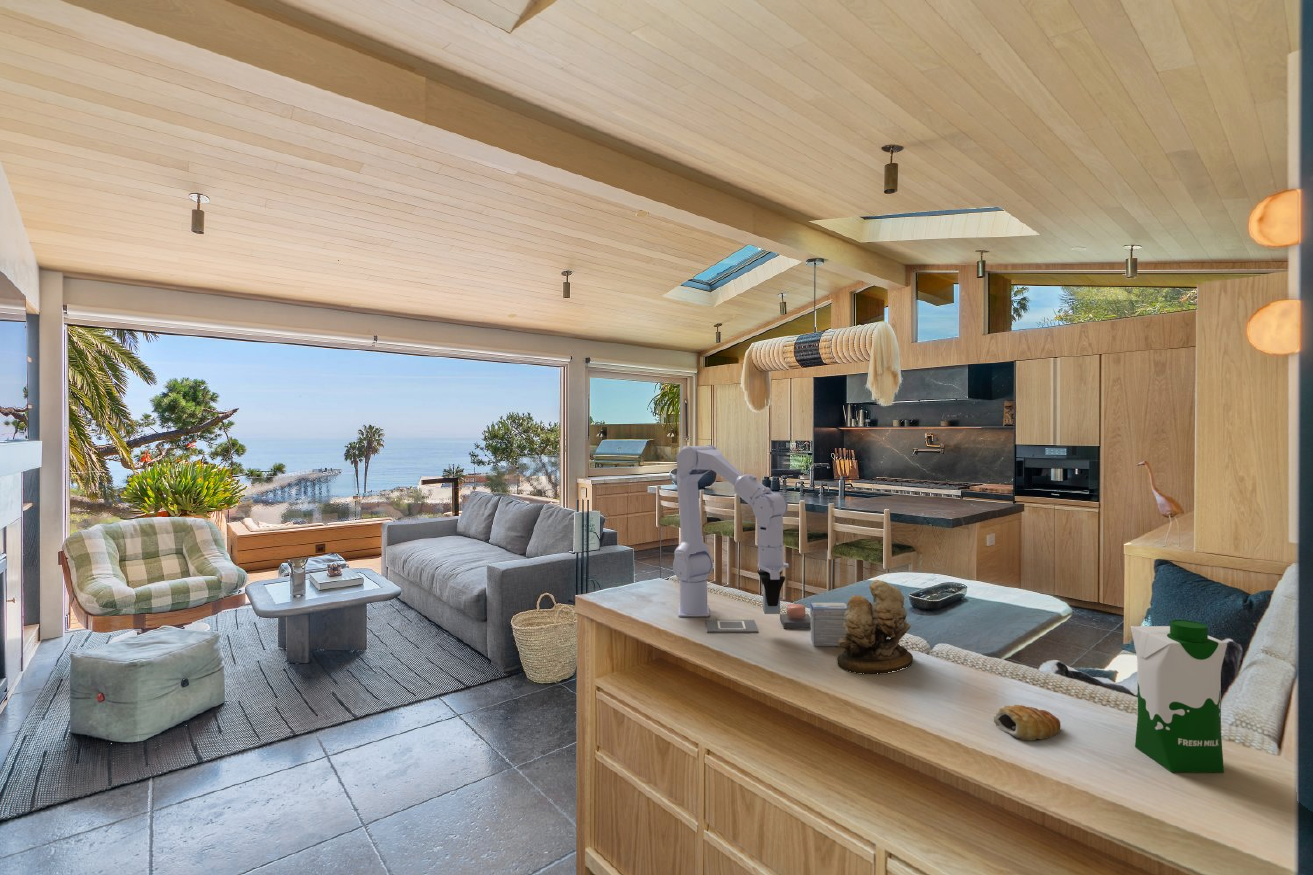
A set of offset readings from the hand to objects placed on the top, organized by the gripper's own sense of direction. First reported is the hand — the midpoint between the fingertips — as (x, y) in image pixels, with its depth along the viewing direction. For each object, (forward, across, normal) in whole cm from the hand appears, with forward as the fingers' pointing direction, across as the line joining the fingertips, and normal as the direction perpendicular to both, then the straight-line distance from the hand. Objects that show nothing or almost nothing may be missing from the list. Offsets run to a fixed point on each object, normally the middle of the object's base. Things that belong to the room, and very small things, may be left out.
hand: (771, 603), depth 147 cm
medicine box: (+8, -6, -12) cm, 15 cm away
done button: (+5, +8, -7) cm, 12 cm away
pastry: (+8, -46, -34) cm, 58 cm away
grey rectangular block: (+2, 0, 0) cm, 2 cm away
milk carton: (+7, -55, -50) cm, 75 cm away
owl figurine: (+8, -17, -19) cm, 27 cm away
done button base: (+7, +8, -7) cm, 13 cm away
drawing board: (+7, +6, +9) cm, 13 cm away
